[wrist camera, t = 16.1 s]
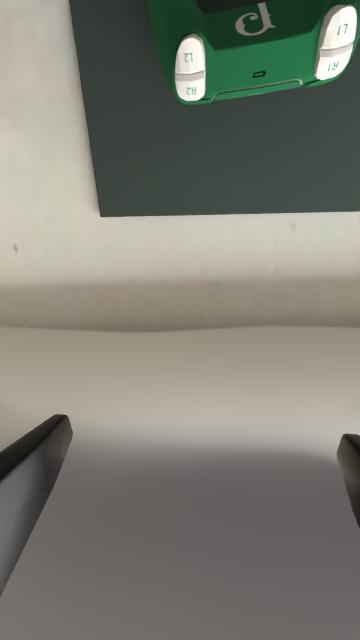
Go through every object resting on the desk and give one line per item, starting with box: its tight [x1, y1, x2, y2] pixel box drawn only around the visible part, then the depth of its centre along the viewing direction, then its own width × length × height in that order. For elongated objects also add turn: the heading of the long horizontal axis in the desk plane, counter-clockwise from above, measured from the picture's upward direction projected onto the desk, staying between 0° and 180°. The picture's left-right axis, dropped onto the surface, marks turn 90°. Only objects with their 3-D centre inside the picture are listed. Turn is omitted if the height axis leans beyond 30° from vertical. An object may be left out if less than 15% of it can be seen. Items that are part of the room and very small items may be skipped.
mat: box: [69, 0, 360, 217], centre depth 13 cm, size 18×16×1 cm
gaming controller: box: [148, 0, 360, 105], centre depth 11 cm, size 9×4×6 cm
